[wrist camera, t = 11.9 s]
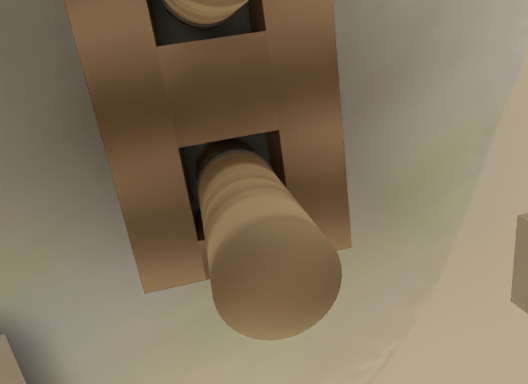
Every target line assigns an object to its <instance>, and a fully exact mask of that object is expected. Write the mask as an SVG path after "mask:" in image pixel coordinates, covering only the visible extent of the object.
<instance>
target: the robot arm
mask: <svg viewBox="0 0 528 384" xmlns="http://www.w3.org/2000/svg"><path fill="white" fill-rule="evenodd" d="M511 302H513V303H514V304H515V305H517V306H518V307H520V308H521V309H522V310H524V311H525V312H526V313H528V214H523V215H519V216H518V217H517V230H516V242H515V255H514V267H513V280H512V292H511ZM0 384H26V382H25V380H24V378H23V375H22V373H21V371H20V368H19V366H18V364H17V361H16V359H15V357H14V354H13V352H12V350H11V347H10V345H9V343H8V341H7V338H6V336H5V334H2V335H0Z"/></svg>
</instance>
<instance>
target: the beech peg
mask: <svg viewBox="0 0 528 384" xmlns="http://www.w3.org/2000/svg"><path fill="white" fill-rule="evenodd" d="M195 172H196V179H197V183H196V193H197V200H198V203H199V206H200V208H201V215H202V222H203V229H204V236H205V243H206V250H207V257H208V264H209V272H210V279H211V286H212V293H213V300H214V303H215V306H216V308H217V311H218V313H219V314H220V316H221V317H222V319H223V320H224V321H225V322H226V323H227V324H228V325H229V326H230V327H231V328H232V329H234V330H235V331H237V332H239V333H240V334H243V335H245V336H247V337H251V338H254V339H260V340H279V339H284V338H288V337H292V336H295V335H297V334H299V333H302V332H304V331H305V330H307V329H309V328H310V327H312V326H313V325H315V324H316V323H317V322H318V321H319V320H321V319H322V318H323V317H324V315H325V314H326V313H327V312H328V311H329V309H330V308H331V307H332V305H333V303H334V301H335V300H336V297H337V295H338V292H339V289H340V285H341V277H342V273H341V264H340V260H339V257H338V254H337V252H336V250H335V248H334V247H333V245H332V244H331V242H330V241H329V240H328V239H327V238H326V236H325V235H324V234H323V233H322V231H321V230H320V229H319V228H318V226H317V225H316V224H315V223H314V222H313V220H312V219H311V218H310V217H309V215H308V214H307V213H306V212H305V211H304V209H303V208H302V207H301V206H300V204H299V203H298V202H297V201H296V199H295V198H294V197H293V196H292V195H291V193H290V192H289V191H288V190H287V188H286V187H285V186H284V185H283V183H282V182H281V181H280V180H279V179H278V177H277V176H276V174H275V172H274V170H273V169H272V167H271V166H270V164H269V163H268V162H267V161H266V160H265V159H264V158H263V157H262V156H260V155H259V154H258V153H257V152H256V150H255V149H254V148H253V147H252V146H251V145H250V144H249V143H248V142H247V141H245V140H243V139H241V138H238V137H236V138H231V139H225V140H219V141H214V142H208V143H207V144H206V145H205V146H204V147H203V148H202V149H201V151H200V153H199V154H198V157H197V160H196V165H195Z"/></svg>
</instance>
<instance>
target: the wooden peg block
mask: <svg viewBox="0 0 528 384" xmlns="http://www.w3.org/2000/svg"><path fill="white" fill-rule="evenodd" d="M161 1H162V3H163V5H164V7H165V9H166V11H167V12H168V13H169V15H170V16H171V17H172V18H173V19H174V20H175V21H176V22H177V23H179V24H180V25H182V26H184V27H186V28H189V29H192V30H208V29H211V28H214V27H216V26H218V25H220V24H222V23H224V22H226V21H227V20H229V19H230V18H232V17H233V16H234V15H235V14H236V13H237V12H238V11H239V10H240V8H241V7H242V6H243V5H244V4H245V3H246V2H247V1H248V7H249V14H250V21H251V28H252V33H247V34H240V35H233V36H226V37H219V38H212V39H206V40H199V41H192V42H185V43H178V44H171V45H164V46H159V41H158V37H157V32H156V27H155V22H154V18H153V13H152V8H151V4H150V0H64V2H65V6H66V10H67V13H68V17H69V20H70V24H71V28H72V31H73V35H74V39H75V42H76V46H77V50H78V53H79V57H80V60H81V64H82V68H83V71H84V75H85V79H86V82H87V86H88V90H89V93H90V97H91V100H92V104H93V108H94V111H95V115H96V119H97V122H98V126H99V129H100V133H101V137H102V140H103V144H104V148H105V151H106V155H107V159H108V162H109V166H110V169H111V173H112V177H113V180H114V184H115V188H116V191H117V195H118V199H119V202H120V206H121V209H122V213H123V217H124V220H125V224H126V228H127V231H128V235H129V239H130V242H131V246H132V249H133V253H134V257H135V260H136V264H137V268H138V271H139V275H140V279H141V282H142V286H143V289H144V293H150V292H154V291H159V290H163V289H168V288H172V287H177V286H181V285H185V284H190V283H194V282H199V281H203V280H208V279H210V272H209V264H208V257H207V250H206V243H205V236H204V229H203V222H202V215H201V214H198V215H195V211H194V206H193V202H192V197H191V192H190V187H189V183H188V178H187V173H186V169H185V164H184V159H183V154H182V150H181V147H186V146H191V145H197V144H203V143H208V142H214V141H219V140H225V139H231V138H236V137H242V136H247V135H253V134H259V133H264V132H266V135H267V142H268V149H269V156H270V163H271V167H272V169H273V170H274V172H275V174H276V176H277V177H278V179H279V180H280V181H281V182H282V183H283V185H284V186H285V187H286V188H287V190H288V191H289V192H290V193H291V195H292V196H293V197H294V198H295V199H296V201H297V202H298V203H299V204H300V206H301V207H302V208H303V209H304V211H305V212H306V213H307V214H308V215H309V217H310V218H311V219H312V220H313V222H314V223H315V224H316V225H317V226H318V228H319V229H320V230H321V231H322V233H323V234H324V235H325V236H326V238H327V239H328V240H329V241H330V242H331V244H332V245H333V247H334V248H335V250H336V251H338V250H342V249H347V248H351V247H352V244H351V231H350V219H349V206H348V193H347V180H346V168H345V155H344V142H343V129H342V117H341V104H340V91H339V78H338V66H337V53H336V40H335V27H334V15H333V2H332V0H161Z"/></svg>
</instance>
